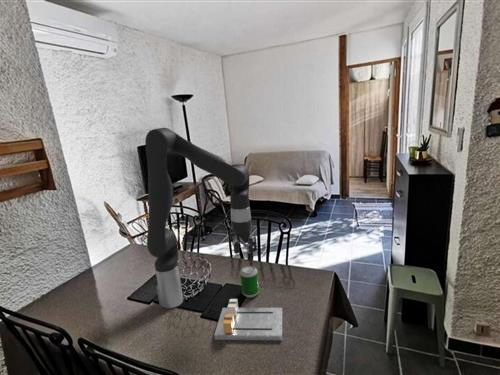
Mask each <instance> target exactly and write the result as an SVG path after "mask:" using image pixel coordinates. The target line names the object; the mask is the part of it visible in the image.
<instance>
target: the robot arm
mask: <svg viewBox="0 0 500 375" xmlns="http://www.w3.org/2000/svg"><path fill="white" fill-rule="evenodd" d="M144 143H145V151H146V152H145V153H146V161H147V177H148V178H147V180H148V185H147V186H148V189H147V190H148V193H147V194H148V195H147V198H148V200H147V201H148V228H147V238H146V239H147V240H146V247H147V250H148V252H149V254H150V255H151V256H153V257H155V258H156V260H155V261H154V269H155V275H156V281H157V285H156V293H157V296H158V303H159V306H160V307H163V308H164V309H173V308H177V307H179V306H180V305H181V304H183V302H184V296H183V290H182V282H181V276H180V270H179V266H178V265H179V264H178V259H179V249H178V241H177V237H176V235H175V233H174V232H173V231H172V230H171V229H169V228H166V227H167V226H166V225H167V222H168V219H169V215H170V213H171V210H172V208H173V202H174V188H173V182H172V180H171V176H170V175H169V173H168V168H167V159H168V158H167V156H168V153H174V154H177V155H179V156H182V157H183V158H185V159H187V160H188V161H190V162H191V163H192V164H193V165H194V166H196V167H197V168H199V169H201V170H203V172H204V171H205V172H207V173H209V174H211V175H212V176H213V175H214V176H215V177H217V178H218V179H220V180H221V181H222V182H223V183H225V184H227V185H229V186H231V192H230V197H229V199H230V221H231V222H230V223H231V224H230V225H231V228H229V229H228V237H229V243H232V245H233V253H234V254H235V255H237V254H239V253H240V244H242V246H243V248H245V249H246V254H247V255H246V256H247V257H246V258H247V261H248V262H251V261H253V260H254V253H255V252H257V251H258V246H257V245H258V243H257V237H256V235H251V233H250V232H251V230H252V214H251V208H250V195H249V191H250V172H249V169H248V168H247V166H245V165H243V164H236V165H232V164H229V163H228V162H227V161H226V160H225V159H224V158H223V157H222V156H219V155H216V154H215V153H213V152H210V151H208V150H207V149H204V148H201V147H199V146H198V145H195V144H194V143H192V142H191V141H189V140H187V139H186V138H184V137H182V136H181V135H179V134H178V133H176V132H175V131H174V130H172V129H170V128H167V127H160V128H159V127H158V128H154V129H151V130H149V131H148V132H147V134H146V136H145V142H144ZM247 243H248V244H247Z"/></svg>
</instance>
